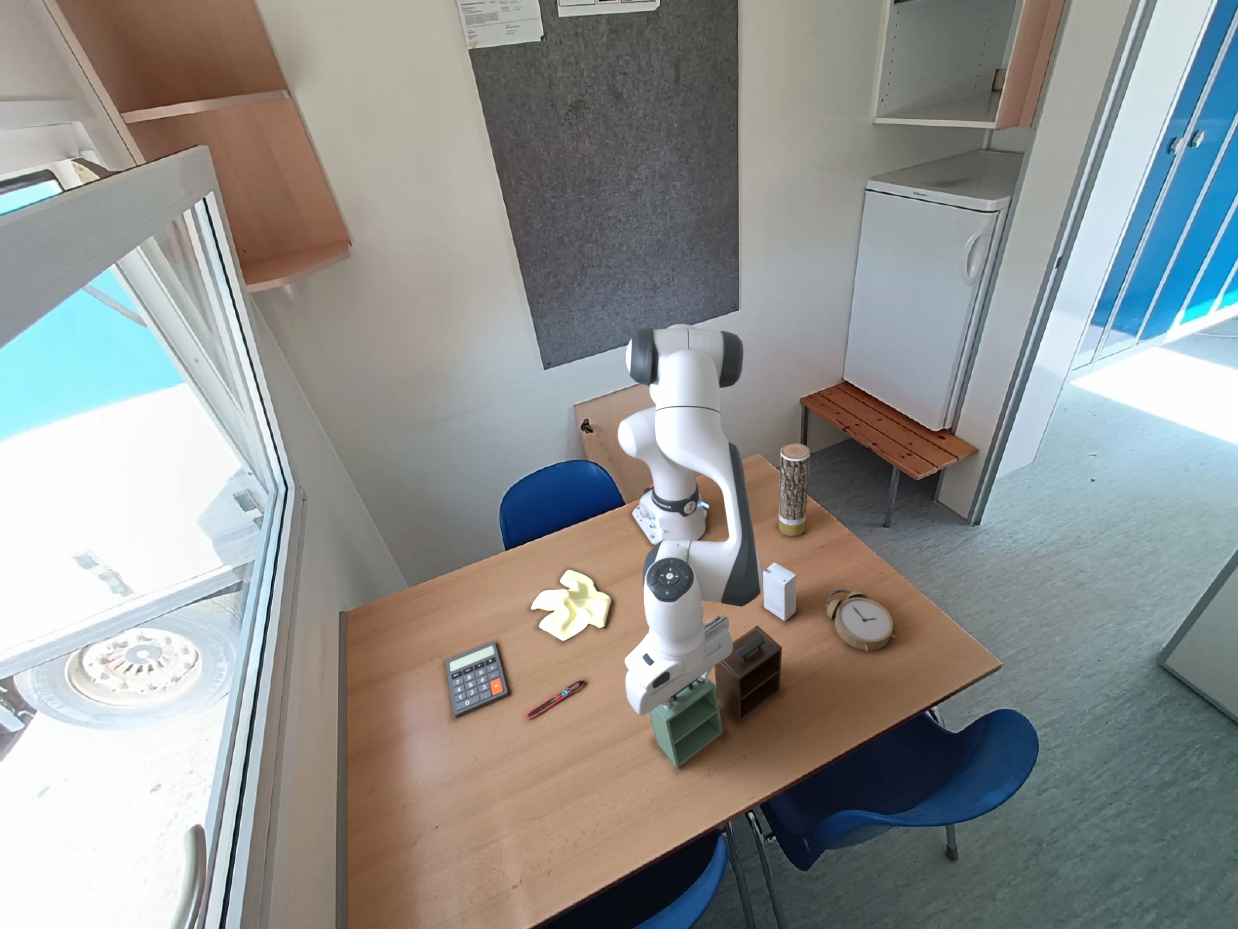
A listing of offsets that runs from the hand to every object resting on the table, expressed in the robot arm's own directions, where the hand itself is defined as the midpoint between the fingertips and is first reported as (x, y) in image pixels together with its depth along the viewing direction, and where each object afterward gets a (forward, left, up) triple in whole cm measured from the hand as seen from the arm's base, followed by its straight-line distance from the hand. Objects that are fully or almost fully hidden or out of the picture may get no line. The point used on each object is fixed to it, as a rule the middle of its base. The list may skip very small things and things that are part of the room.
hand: (684, 693), depth 98 cm
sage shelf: (-4, 0, -7) cm, 8 cm away
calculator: (-40, -29, -15) cm, 51 cm away
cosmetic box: (-12, +35, -16) cm, 40 cm away
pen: (-24, -17, -15) cm, 33 cm away
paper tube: (-29, +57, -16) cm, 66 cm away
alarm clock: (+1, +45, -16) cm, 48 cm away
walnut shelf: (-4, +15, -7) cm, 17 cm away
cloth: (-45, -2, -16) cm, 47 cm away
